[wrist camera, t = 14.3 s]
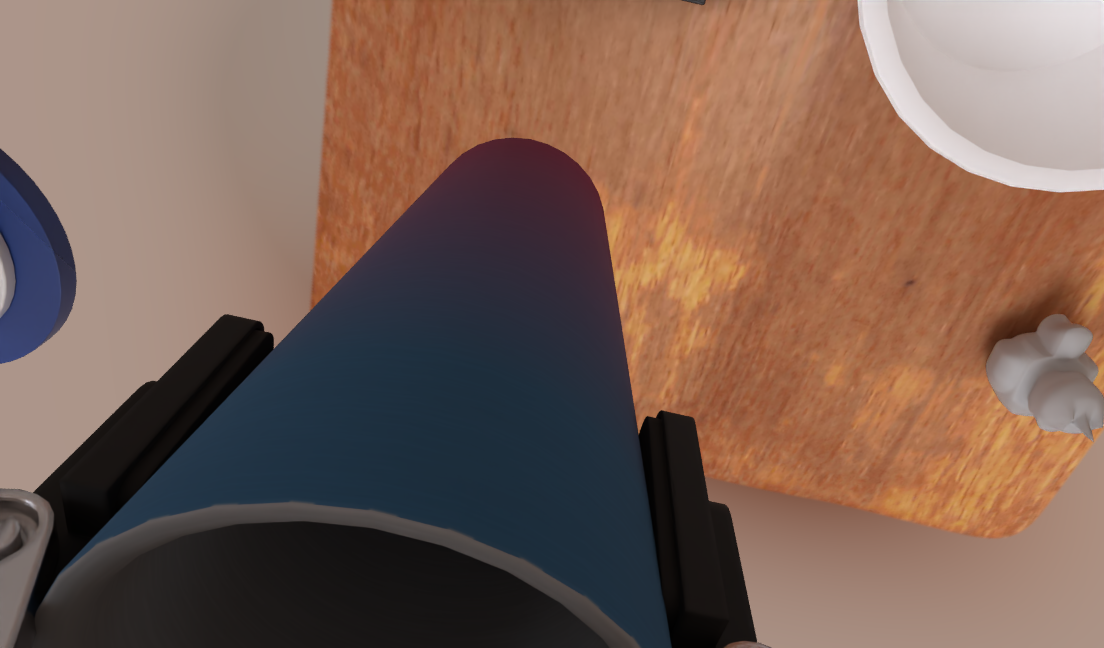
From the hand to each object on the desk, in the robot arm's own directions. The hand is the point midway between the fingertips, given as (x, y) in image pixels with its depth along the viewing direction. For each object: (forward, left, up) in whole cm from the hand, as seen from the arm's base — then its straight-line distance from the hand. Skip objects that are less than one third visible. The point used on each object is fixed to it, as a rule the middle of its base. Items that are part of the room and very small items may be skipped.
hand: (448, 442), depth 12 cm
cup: (0, 0, -10) cm, 10 cm away
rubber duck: (+28, +15, -30) cm, 43 cm away
